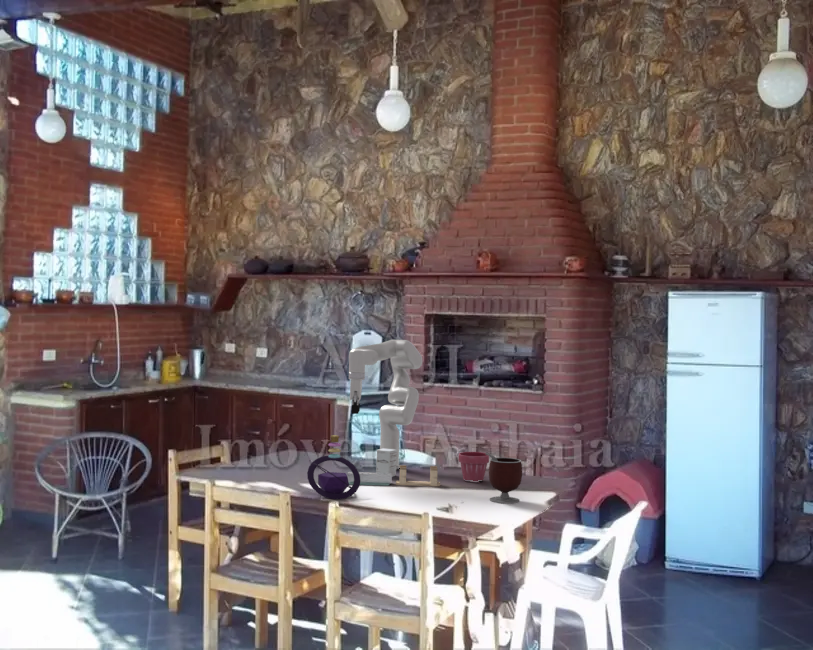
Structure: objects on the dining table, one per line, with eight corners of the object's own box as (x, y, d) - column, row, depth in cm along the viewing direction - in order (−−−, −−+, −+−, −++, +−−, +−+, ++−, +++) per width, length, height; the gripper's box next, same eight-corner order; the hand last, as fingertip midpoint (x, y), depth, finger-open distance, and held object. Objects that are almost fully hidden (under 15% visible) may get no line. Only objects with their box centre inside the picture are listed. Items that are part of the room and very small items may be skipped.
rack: (396, 482, 401) (396, 465, 401) (439, 483, 401) (440, 466, 401) (395, 485, 395) (396, 467, 395) (440, 486, 395) (440, 468, 395)
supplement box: (375, 476, 416) (376, 449, 416) (383, 474, 423) (383, 447, 423) (389, 477, 413) (389, 451, 413) (396, 475, 420) (397, 449, 419)
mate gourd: (518, 497, 374) (519, 450, 374) (523, 504, 360) (525, 455, 360) (482, 497, 374) (483, 450, 374) (486, 503, 360) (487, 455, 360)
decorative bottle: (305, 499, 358) (307, 438, 358) (307, 489, 379) (309, 431, 379) (360, 500, 359) (362, 439, 359) (359, 490, 380) (361, 432, 380)
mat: (350, 481, 401) (350, 479, 401) (389, 482, 401) (389, 481, 401) (349, 484, 393) (349, 483, 393) (389, 485, 393) (389, 484, 393)
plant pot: (458, 483, 404) (459, 455, 404) (457, 477, 418) (458, 451, 418) (489, 484, 404) (490, 456, 404) (487, 478, 418) (488, 452, 418)
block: (347, 482, 396) (347, 473, 396) (347, 480, 400) (348, 471, 400) (391, 483, 396) (391, 474, 396) (391, 481, 400) (391, 473, 400)
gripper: (349, 374, 421) (348, 410, 421) (347, 377, 404) (346, 414, 404) (365, 375, 421) (364, 410, 421) (363, 377, 404) (362, 414, 404)
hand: (355, 412), depth 413 cm, fingers open, 9 cm apart
